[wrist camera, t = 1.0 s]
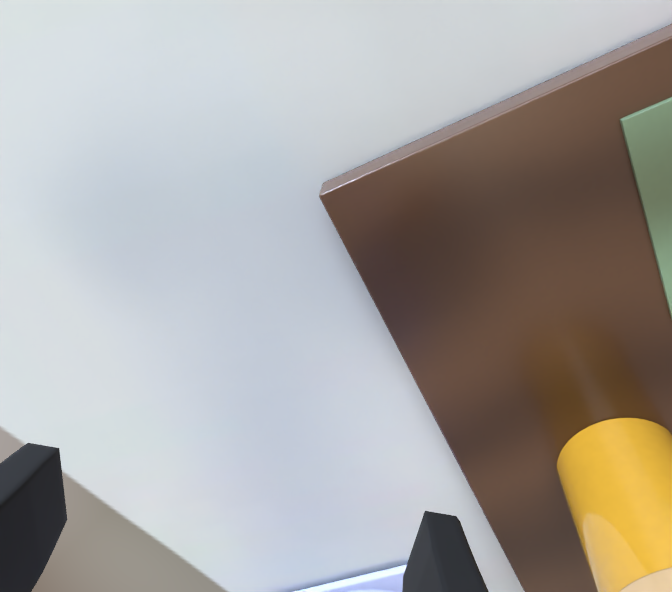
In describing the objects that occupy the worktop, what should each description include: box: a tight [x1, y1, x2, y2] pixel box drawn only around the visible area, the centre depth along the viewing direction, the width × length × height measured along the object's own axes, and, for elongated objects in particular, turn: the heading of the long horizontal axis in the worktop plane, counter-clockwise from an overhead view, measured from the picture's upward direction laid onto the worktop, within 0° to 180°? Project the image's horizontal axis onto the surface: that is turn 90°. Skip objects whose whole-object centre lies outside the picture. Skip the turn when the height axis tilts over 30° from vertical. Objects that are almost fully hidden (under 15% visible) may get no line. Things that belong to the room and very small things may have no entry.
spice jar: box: [557, 417, 672, 592], centre depth 19 cm, size 5×5×7 cm
